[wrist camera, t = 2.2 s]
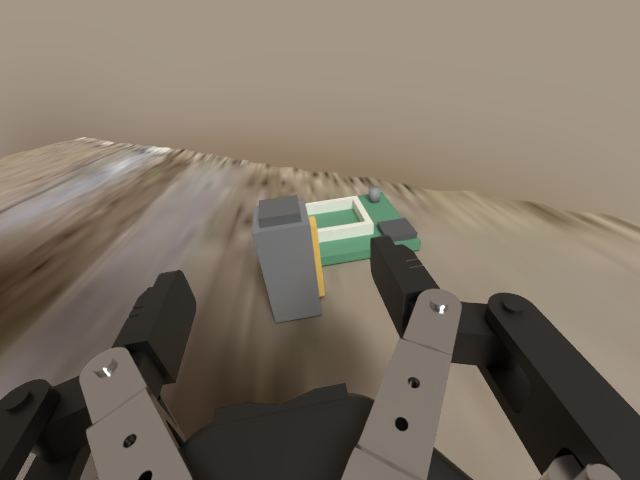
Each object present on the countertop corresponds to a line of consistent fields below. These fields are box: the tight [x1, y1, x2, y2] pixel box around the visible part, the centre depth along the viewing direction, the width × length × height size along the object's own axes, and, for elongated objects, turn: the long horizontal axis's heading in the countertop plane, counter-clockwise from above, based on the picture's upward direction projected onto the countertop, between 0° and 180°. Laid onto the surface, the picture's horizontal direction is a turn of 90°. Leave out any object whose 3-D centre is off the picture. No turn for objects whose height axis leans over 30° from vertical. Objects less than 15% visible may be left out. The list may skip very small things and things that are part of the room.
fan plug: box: [252, 195, 325, 323], centre depth 26 cm, size 5×4×11 cm
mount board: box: [305, 186, 421, 266], centre depth 39 cm, size 18×14×3 cm
